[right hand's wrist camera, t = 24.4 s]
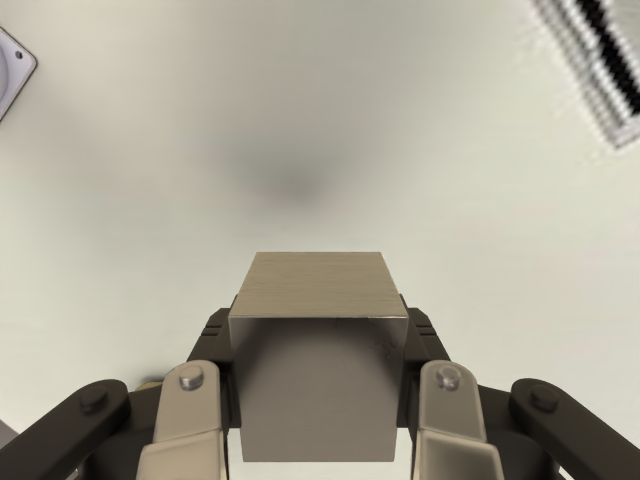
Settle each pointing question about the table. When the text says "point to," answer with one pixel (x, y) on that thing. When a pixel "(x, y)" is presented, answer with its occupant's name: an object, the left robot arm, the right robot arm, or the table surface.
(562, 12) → the table surface
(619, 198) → the table surface
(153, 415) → the right robot arm
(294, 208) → the table surface
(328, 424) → the brick
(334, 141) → the table surface
